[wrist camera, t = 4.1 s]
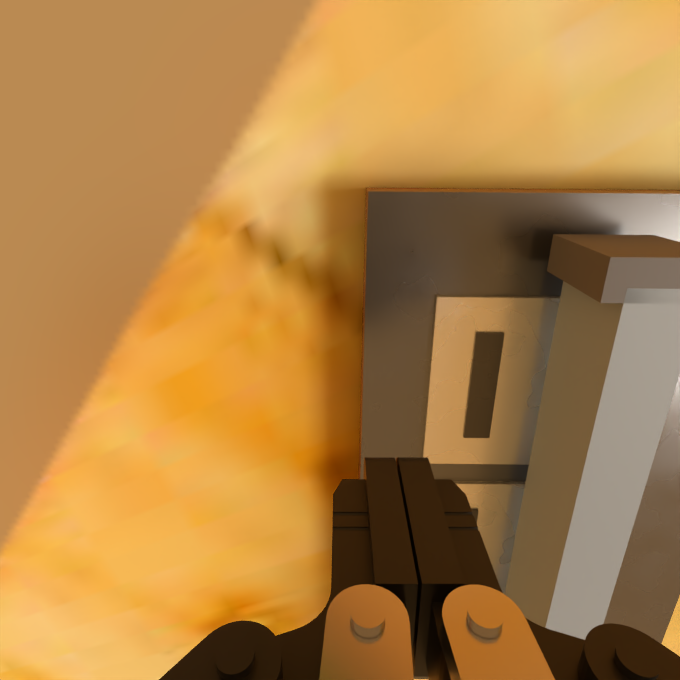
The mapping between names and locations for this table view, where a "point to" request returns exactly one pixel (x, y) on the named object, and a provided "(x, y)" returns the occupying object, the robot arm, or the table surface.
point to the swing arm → (596, 423)
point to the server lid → (498, 358)
